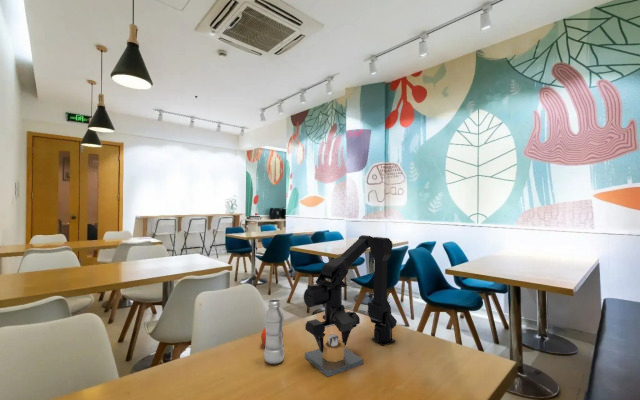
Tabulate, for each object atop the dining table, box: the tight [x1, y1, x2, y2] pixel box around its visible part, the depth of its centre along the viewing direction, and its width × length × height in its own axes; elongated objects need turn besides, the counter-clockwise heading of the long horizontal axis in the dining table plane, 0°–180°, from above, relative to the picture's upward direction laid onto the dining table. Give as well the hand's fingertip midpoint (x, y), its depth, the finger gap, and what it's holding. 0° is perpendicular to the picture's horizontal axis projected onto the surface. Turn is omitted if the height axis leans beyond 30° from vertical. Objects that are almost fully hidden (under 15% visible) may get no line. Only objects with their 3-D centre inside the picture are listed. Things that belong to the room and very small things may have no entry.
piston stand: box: [304, 334, 364, 378], centre depth 99 cm, size 14×14×8 cm
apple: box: [260, 328, 284, 346], centre depth 110 cm, size 8×8×8 cm
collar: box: [322, 339, 346, 362], centre depth 99 cm, size 7×7×4 cm
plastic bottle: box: [263, 298, 285, 365], centre depth 98 cm, size 6×7×20 cm
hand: (333, 348), depth 99 cm, fingers open, 9 cm apart
